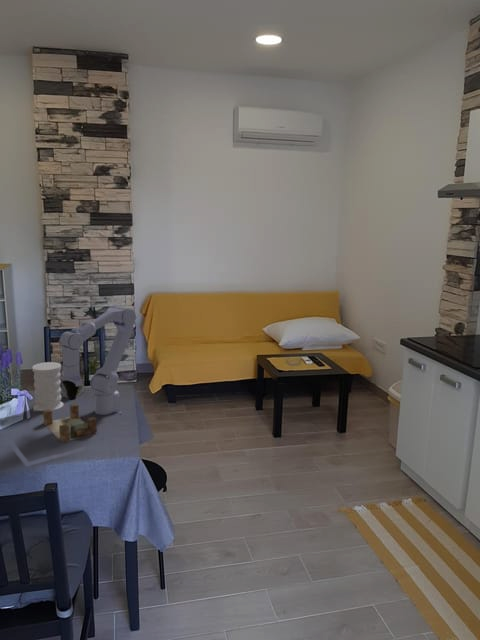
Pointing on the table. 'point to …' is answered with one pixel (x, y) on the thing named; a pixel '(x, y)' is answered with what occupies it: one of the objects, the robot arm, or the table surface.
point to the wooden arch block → (90, 429)
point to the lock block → (76, 424)
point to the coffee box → (81, 388)
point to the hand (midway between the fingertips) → (72, 399)
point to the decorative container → (47, 386)
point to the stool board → (63, 424)
